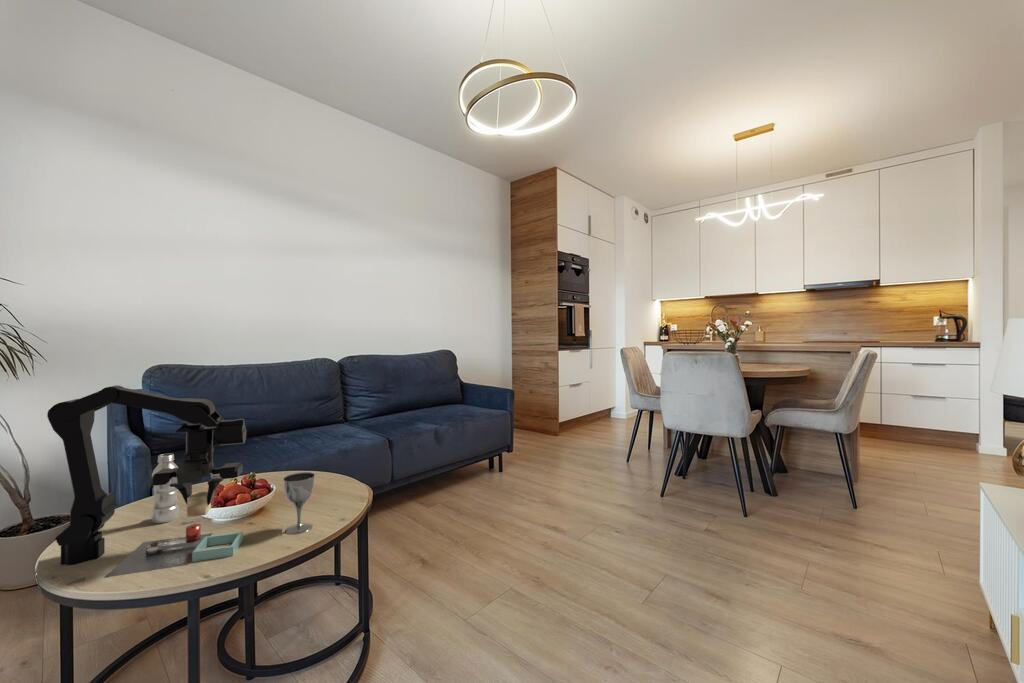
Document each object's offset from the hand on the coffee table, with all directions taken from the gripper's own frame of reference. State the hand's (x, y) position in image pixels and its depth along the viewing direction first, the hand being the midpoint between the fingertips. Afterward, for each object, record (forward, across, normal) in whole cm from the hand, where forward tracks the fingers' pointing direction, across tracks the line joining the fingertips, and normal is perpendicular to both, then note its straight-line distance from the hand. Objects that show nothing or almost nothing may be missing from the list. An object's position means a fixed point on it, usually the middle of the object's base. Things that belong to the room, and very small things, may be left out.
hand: (199, 505), depth 108 cm
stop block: (+2, 0, 0) cm, 2 cm away
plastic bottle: (+10, -14, +18) cm, 25 cm away
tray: (+10, +7, -8) cm, 15 cm away
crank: (+9, -4, -4) cm, 10 cm away
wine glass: (+10, +24, 0) cm, 26 cm away
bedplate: (+10, -6, -5) cm, 13 cm away
